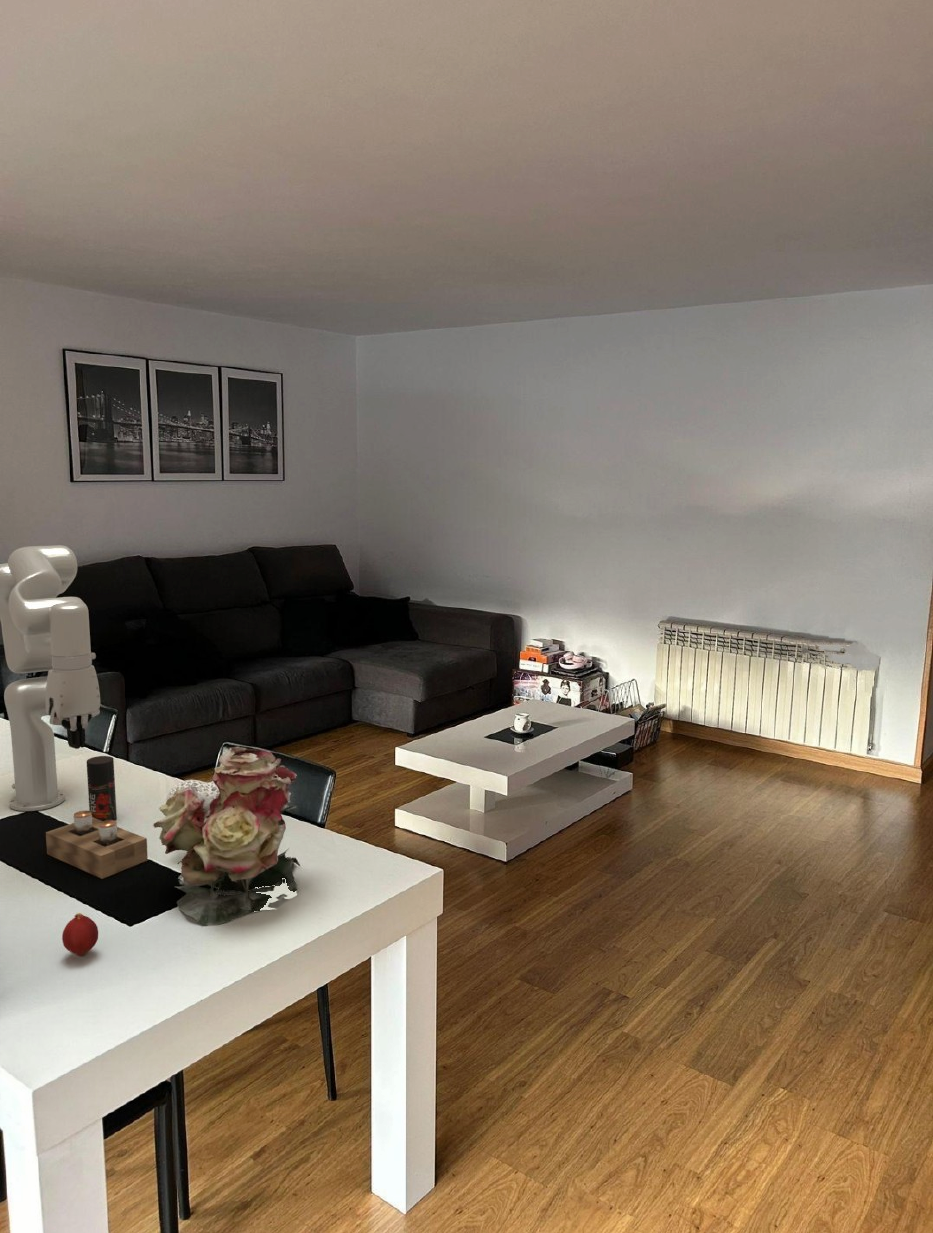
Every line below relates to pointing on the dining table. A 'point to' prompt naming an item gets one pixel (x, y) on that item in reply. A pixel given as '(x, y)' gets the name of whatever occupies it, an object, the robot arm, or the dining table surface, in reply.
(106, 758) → the deodorant
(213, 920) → the rose bouquet
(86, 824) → the plunger
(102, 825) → the plunger
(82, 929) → the onion
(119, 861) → the socket block
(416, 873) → the dining table surface
